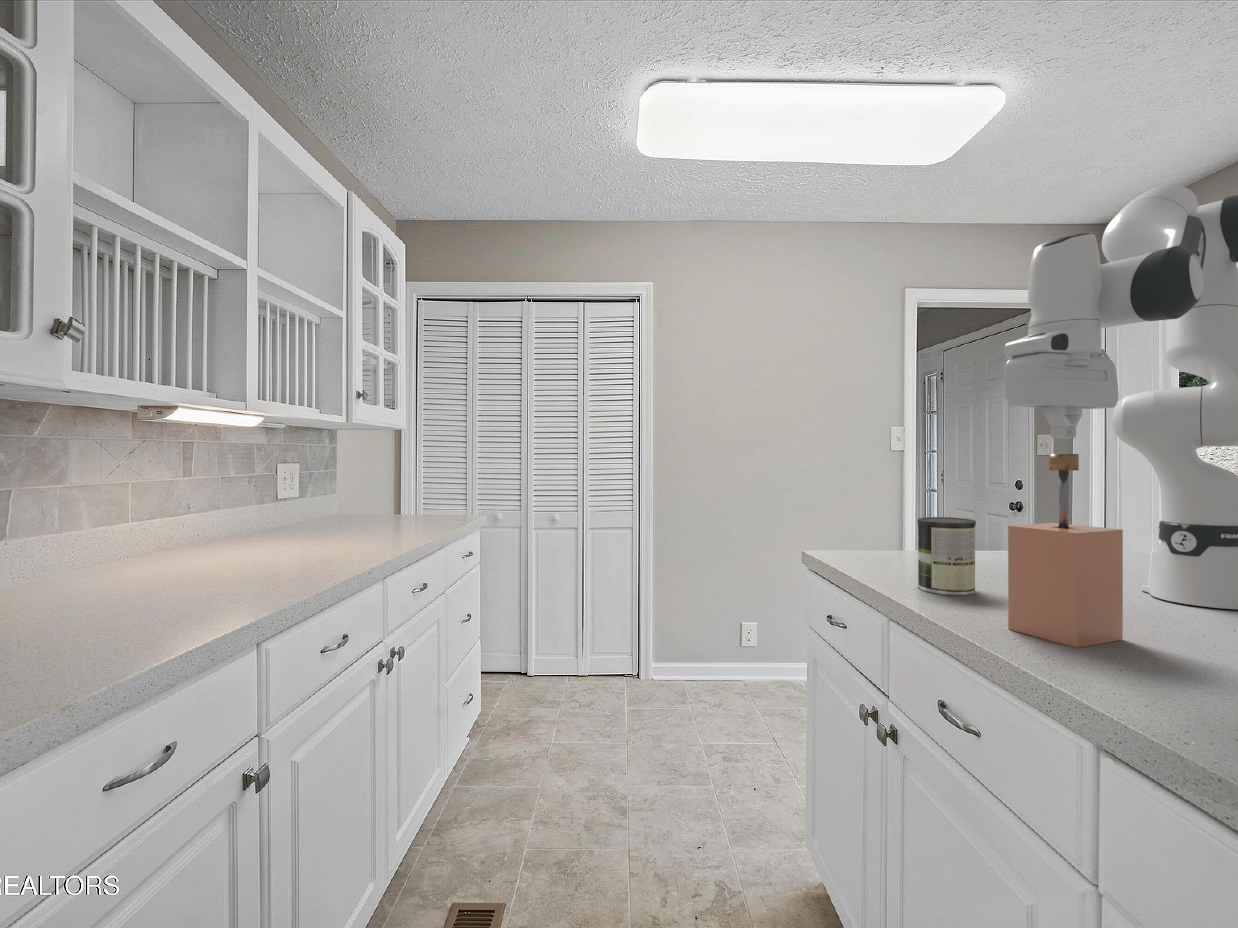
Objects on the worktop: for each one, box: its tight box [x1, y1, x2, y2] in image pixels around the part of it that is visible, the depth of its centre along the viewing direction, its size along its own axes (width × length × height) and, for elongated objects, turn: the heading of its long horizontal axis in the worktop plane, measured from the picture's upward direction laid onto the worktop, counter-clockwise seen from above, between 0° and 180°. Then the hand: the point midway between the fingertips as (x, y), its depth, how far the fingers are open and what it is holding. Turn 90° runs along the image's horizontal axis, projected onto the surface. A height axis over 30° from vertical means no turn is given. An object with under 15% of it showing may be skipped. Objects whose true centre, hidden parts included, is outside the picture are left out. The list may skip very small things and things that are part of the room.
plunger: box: [1048, 453, 1080, 529], centre depth 91 cm, size 8×8×13 cm
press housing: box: [1007, 522, 1124, 649], centre depth 91 cm, size 10×10×16 cm
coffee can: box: [916, 516, 977, 596], centre depth 122 cm, size 10×10×14 cm
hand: (1063, 438), depth 91 cm, fingers closed
